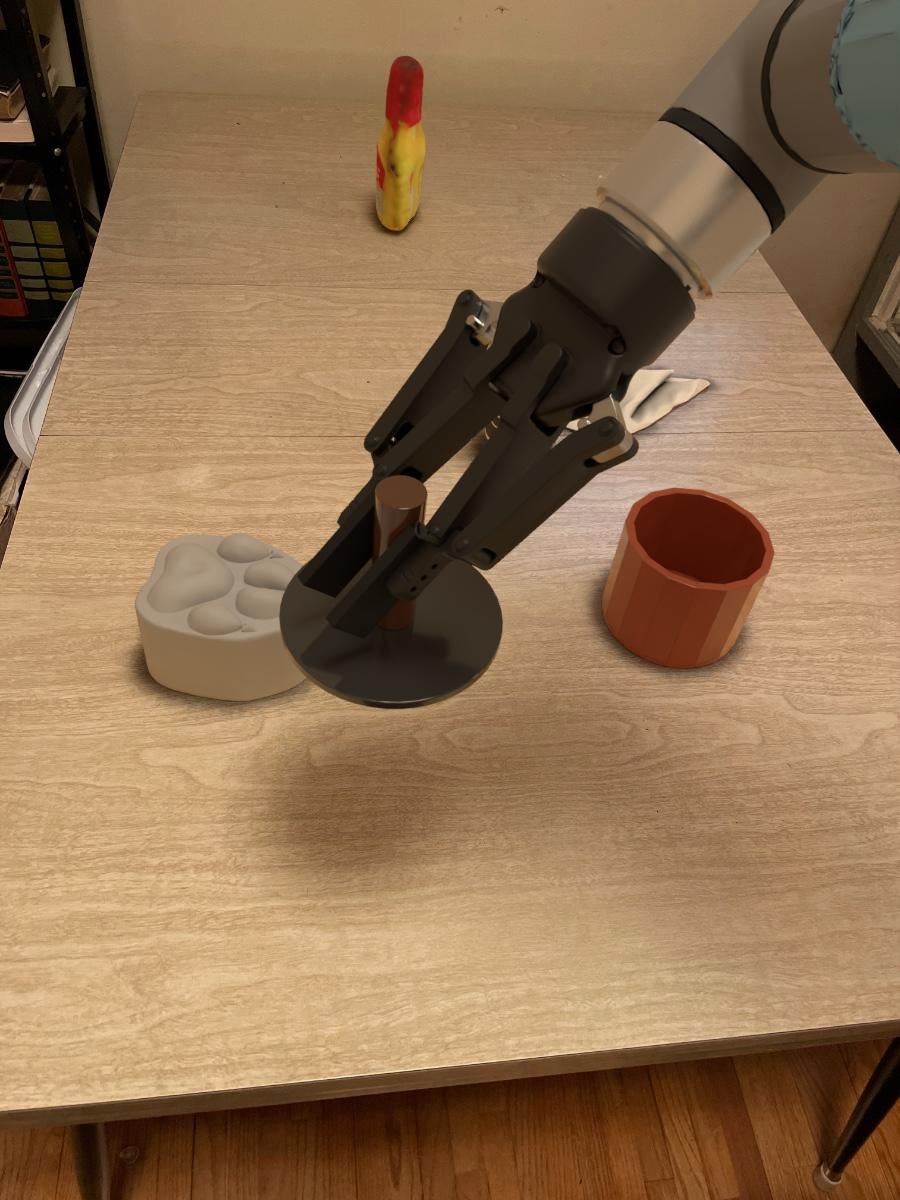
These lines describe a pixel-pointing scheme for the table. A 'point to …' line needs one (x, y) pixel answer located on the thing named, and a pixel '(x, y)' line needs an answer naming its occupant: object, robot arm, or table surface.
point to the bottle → (401, 146)
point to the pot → (685, 576)
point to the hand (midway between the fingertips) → (331, 606)
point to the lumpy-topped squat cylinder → (217, 617)
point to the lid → (397, 624)
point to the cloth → (653, 397)
